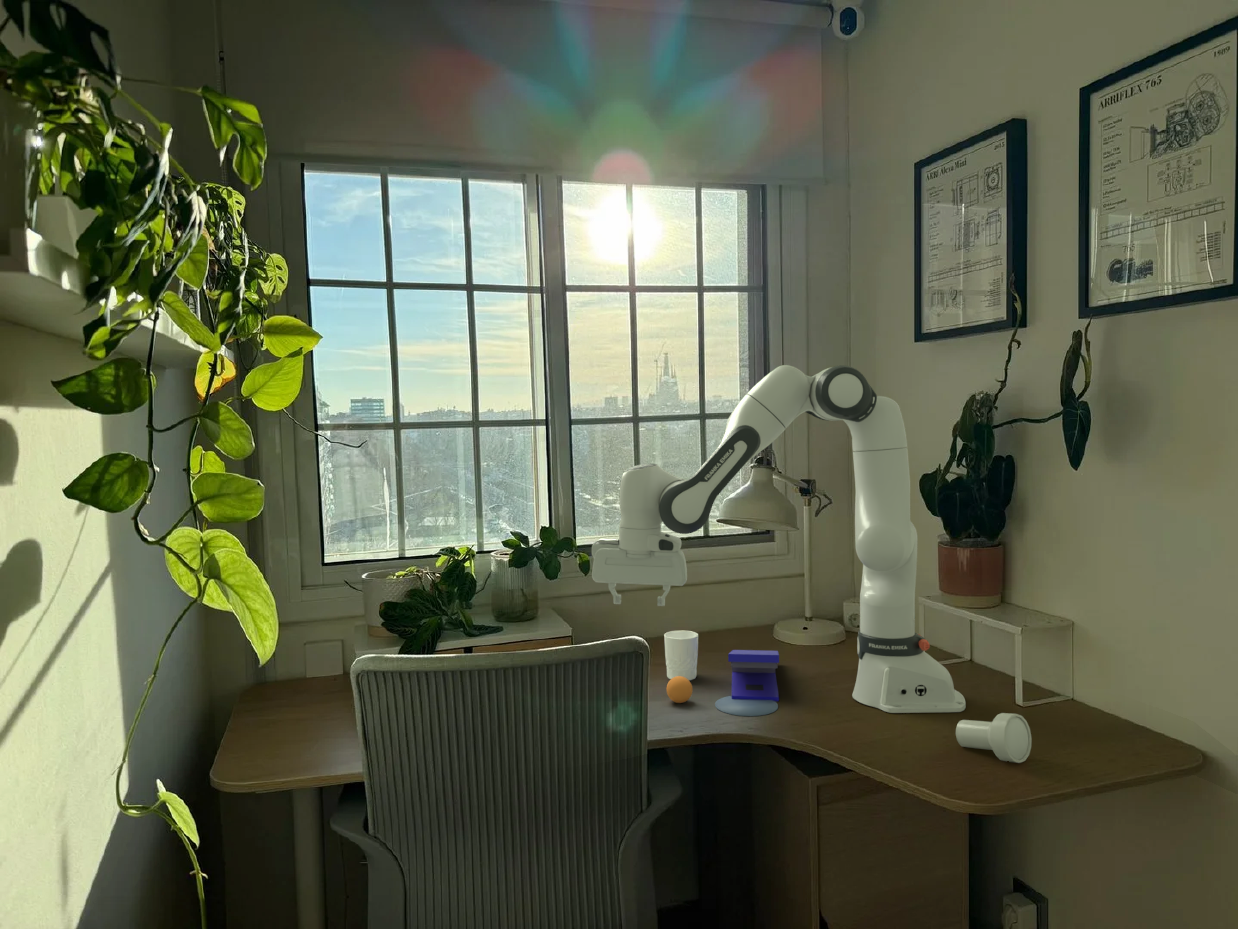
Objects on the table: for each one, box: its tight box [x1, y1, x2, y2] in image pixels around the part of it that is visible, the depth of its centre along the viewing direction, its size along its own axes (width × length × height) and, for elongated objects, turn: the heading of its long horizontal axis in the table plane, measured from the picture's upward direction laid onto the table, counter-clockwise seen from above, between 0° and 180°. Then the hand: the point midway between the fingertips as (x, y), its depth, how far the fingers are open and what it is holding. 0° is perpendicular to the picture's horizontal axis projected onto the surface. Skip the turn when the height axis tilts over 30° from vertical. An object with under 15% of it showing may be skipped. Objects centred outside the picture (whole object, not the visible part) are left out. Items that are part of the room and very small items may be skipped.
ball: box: [665, 676, 694, 704], centre depth 184 cm, size 6×6×6 cm
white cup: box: [663, 630, 699, 681], centre depth 202 cm, size 8×8×10 cm
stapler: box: [727, 649, 780, 702], centre depth 198 cm, size 12×28×10 cm, turn 172°
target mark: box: [714, 695, 779, 717], centre depth 181 cm, size 13×13×1 cm
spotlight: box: [955, 712, 1032, 764], centre depth 153 cm, size 8×11×8 cm
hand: (639, 604), depth 185 cm, fingers open, 8 cm apart
